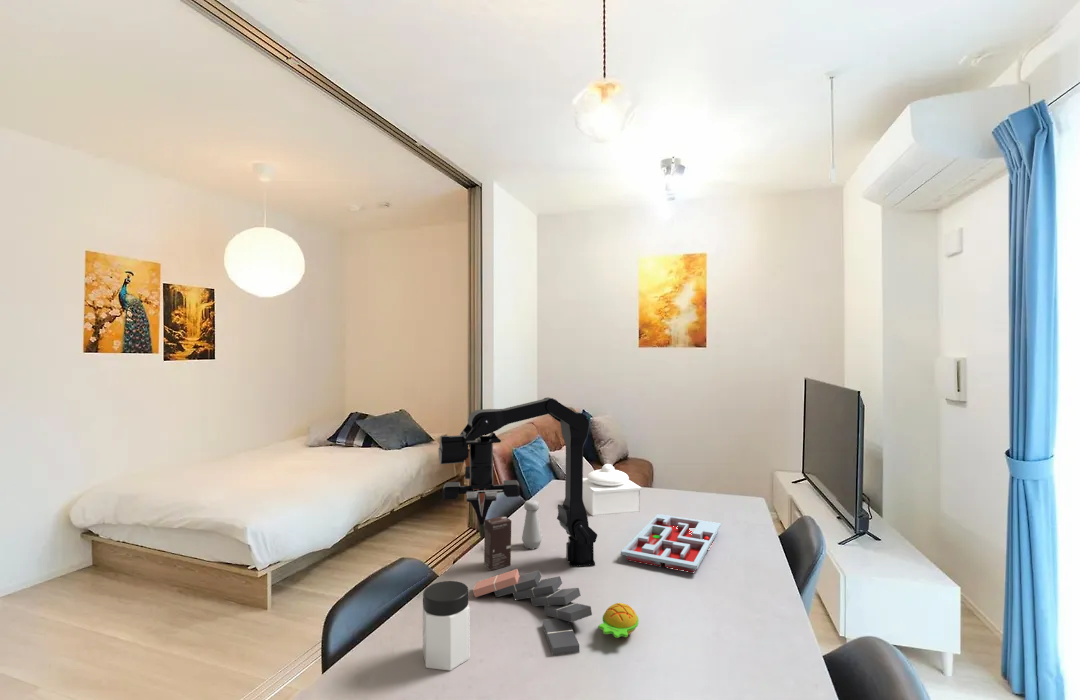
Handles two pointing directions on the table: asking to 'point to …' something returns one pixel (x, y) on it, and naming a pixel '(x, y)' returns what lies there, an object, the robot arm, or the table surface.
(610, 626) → the toy burger bun
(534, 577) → the domino
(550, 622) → the domino
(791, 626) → the table surface
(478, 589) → the domino
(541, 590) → the domino
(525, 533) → the salt shaker
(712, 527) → the maze game
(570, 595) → the domino
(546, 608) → the domino
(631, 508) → the butter dish
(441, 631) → the jar
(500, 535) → the box
